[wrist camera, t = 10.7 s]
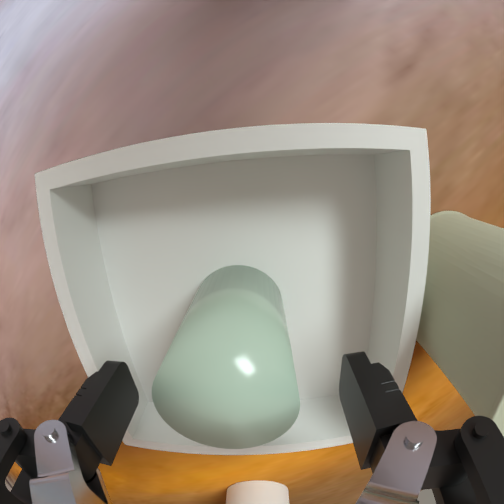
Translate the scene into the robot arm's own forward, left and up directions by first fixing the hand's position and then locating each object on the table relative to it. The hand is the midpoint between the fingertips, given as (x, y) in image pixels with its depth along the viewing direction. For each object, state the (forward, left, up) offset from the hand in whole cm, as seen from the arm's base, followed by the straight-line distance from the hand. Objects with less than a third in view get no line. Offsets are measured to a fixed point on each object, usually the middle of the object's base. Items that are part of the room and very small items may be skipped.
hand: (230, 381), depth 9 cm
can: (0, +14, -8) cm, 16 cm away
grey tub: (0, 0, -8) cm, 8 cm away
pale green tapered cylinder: (0, 0, -7) cm, 7 cm away
